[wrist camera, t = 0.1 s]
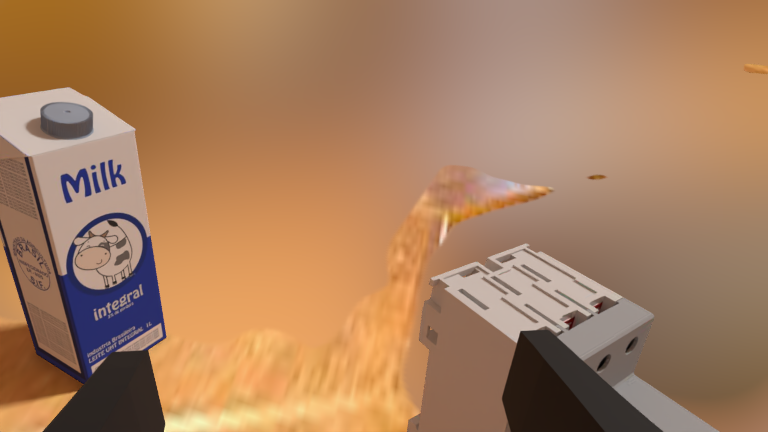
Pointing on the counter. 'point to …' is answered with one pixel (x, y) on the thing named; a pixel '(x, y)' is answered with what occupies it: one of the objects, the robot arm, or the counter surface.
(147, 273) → the milk carton
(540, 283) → the circuit breaker
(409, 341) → the counter surface
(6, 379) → the counter surface
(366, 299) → the counter surface
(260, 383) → the counter surface
